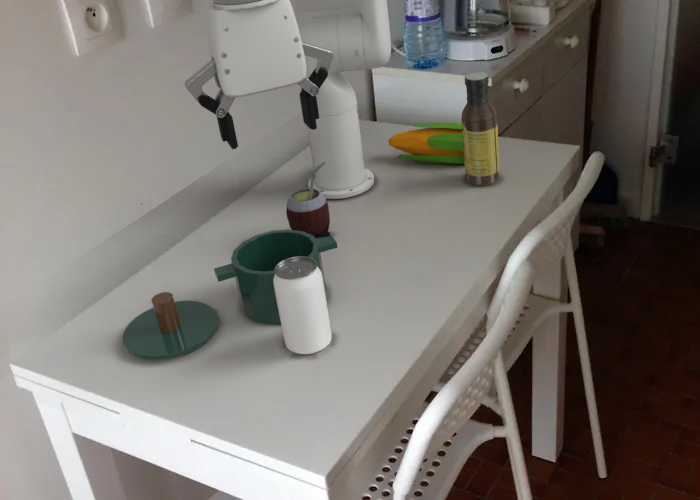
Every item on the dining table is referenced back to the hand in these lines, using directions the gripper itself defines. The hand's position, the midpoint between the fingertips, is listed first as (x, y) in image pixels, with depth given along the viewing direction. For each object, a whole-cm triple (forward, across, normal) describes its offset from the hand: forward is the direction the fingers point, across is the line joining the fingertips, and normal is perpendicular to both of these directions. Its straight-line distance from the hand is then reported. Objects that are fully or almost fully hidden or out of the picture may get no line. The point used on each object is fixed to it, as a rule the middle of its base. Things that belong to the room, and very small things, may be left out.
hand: (272, 135), depth 95 cm
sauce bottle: (+31, -44, -32) cm, 62 cm away
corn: (+31, -41, -45) cm, 68 cm away
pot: (+30, 0, -12) cm, 33 cm away
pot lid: (+30, +17, -12) cm, 36 cm away
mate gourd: (+31, -10, -28) cm, 43 cm away
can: (+31, 0, 0) cm, 31 cm away
